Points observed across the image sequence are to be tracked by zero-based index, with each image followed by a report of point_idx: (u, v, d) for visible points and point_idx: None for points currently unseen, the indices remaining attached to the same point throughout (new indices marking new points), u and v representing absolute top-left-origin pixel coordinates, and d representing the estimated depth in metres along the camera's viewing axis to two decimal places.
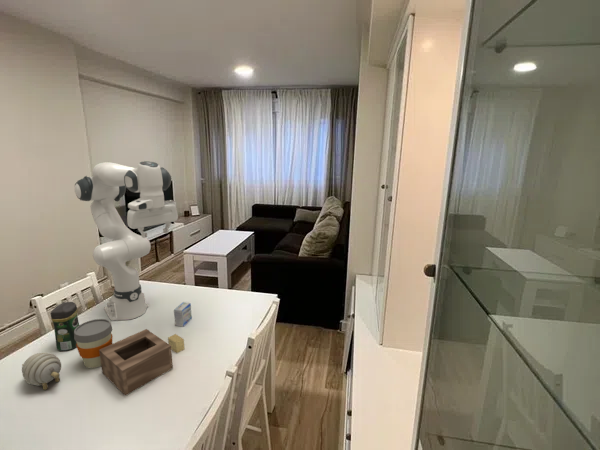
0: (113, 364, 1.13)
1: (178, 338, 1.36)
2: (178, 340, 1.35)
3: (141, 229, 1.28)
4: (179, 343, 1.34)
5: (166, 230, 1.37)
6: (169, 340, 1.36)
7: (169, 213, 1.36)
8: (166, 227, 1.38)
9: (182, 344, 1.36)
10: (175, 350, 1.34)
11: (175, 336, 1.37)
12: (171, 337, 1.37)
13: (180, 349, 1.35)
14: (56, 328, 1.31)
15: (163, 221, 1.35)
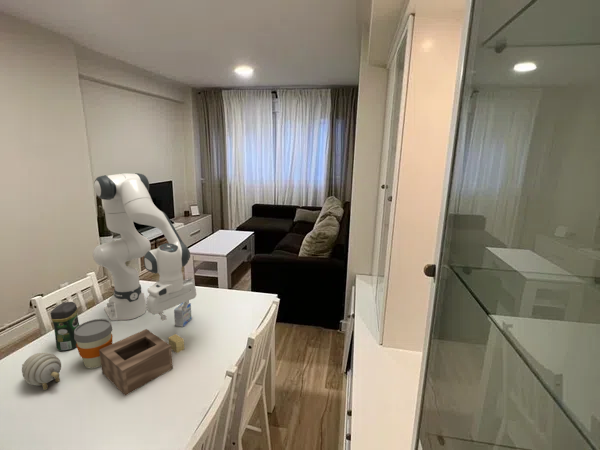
0: (113, 364, 1.13)
1: (178, 338, 1.36)
2: (178, 340, 1.35)
3: (161, 313, 1.27)
4: (179, 343, 1.34)
5: (185, 308, 1.36)
6: (169, 340, 1.36)
7: (188, 292, 1.35)
8: (185, 305, 1.37)
9: (182, 344, 1.36)
10: (175, 350, 1.34)
11: (175, 336, 1.37)
12: (171, 337, 1.37)
13: (180, 349, 1.35)
14: (56, 328, 1.31)
15: (182, 301, 1.33)
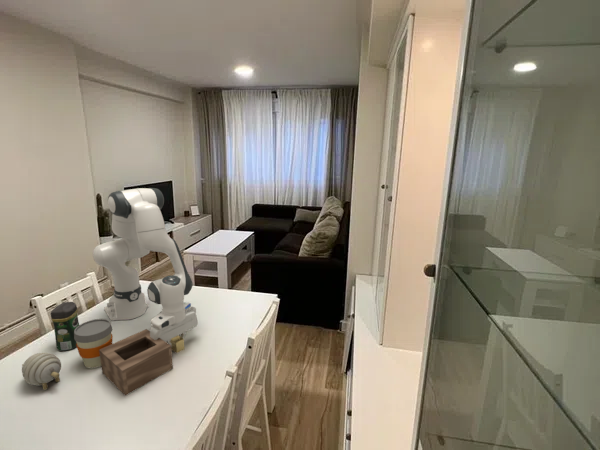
0: (113, 364, 1.13)
1: (178, 337, 1.36)
2: (178, 340, 1.35)
3: (168, 341, 1.32)
4: (179, 343, 1.34)
5: None
6: None
7: (189, 321, 1.38)
8: (182, 336, 1.38)
9: (182, 344, 1.36)
10: (175, 350, 1.34)
11: None
12: None
13: (180, 349, 1.35)
14: (56, 328, 1.31)
15: (184, 330, 1.37)
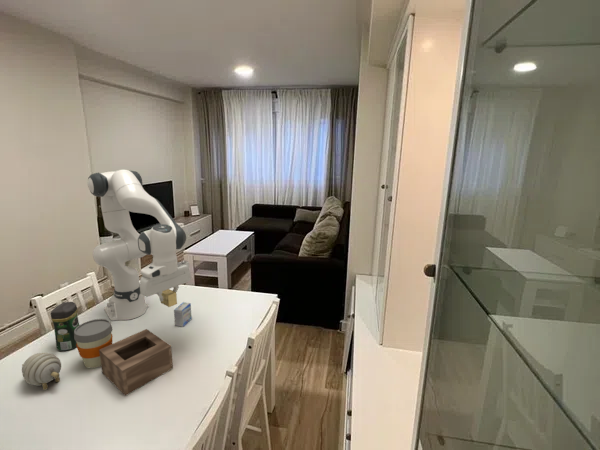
0: (113, 364, 1.13)
1: (170, 291, 1.29)
2: (170, 293, 1.28)
3: (159, 293, 1.25)
4: (171, 296, 1.27)
5: None
6: (161, 294, 1.29)
7: (182, 275, 1.31)
8: (174, 290, 1.31)
9: (174, 298, 1.29)
10: (167, 304, 1.27)
11: (167, 290, 1.30)
12: (163, 291, 1.29)
13: (172, 303, 1.28)
14: (56, 328, 1.31)
15: (176, 284, 1.30)
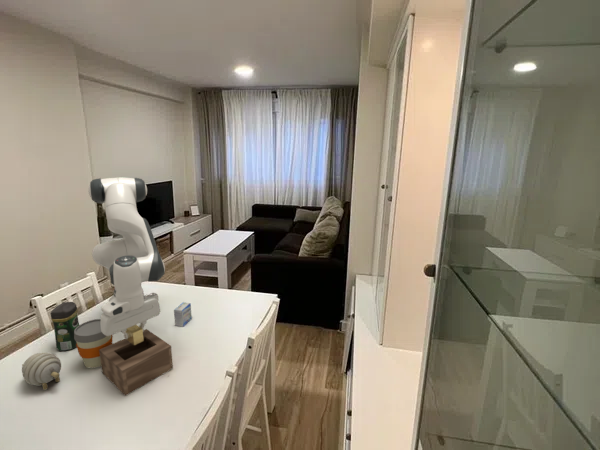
0: (113, 364, 1.13)
1: (136, 327, 1.19)
2: (136, 330, 1.18)
3: (123, 331, 1.15)
4: (137, 333, 1.17)
5: None
6: None
7: (150, 309, 1.21)
8: (141, 326, 1.21)
9: (141, 335, 1.19)
10: (132, 341, 1.17)
11: (133, 326, 1.20)
12: None
13: (138, 340, 1.18)
14: (56, 328, 1.31)
15: (143, 319, 1.20)
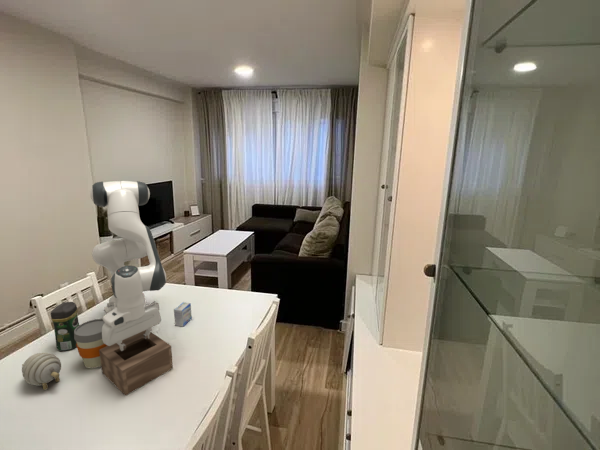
0: (113, 364, 1.13)
1: None
2: None
3: (119, 343, 1.15)
4: None
5: (146, 336, 1.23)
6: None
7: (151, 318, 1.22)
8: (147, 333, 1.24)
9: None
10: None
11: None
12: None
13: None
14: (56, 328, 1.31)
15: (144, 328, 1.21)
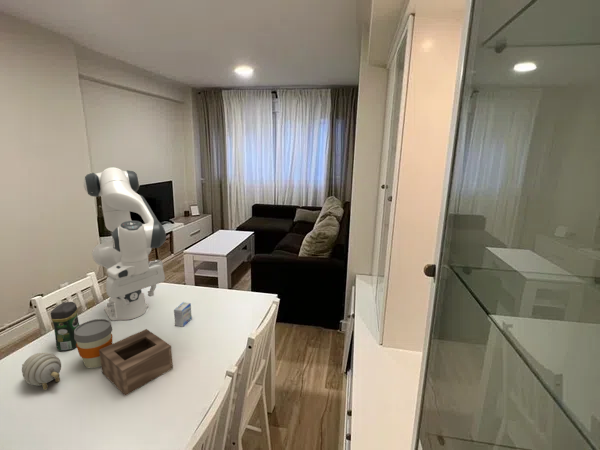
0: (113, 364, 1.13)
1: None
2: None
3: (122, 297, 1.15)
4: None
5: (151, 293, 1.24)
6: None
7: (154, 275, 1.23)
8: (151, 289, 1.25)
9: None
10: None
11: None
12: None
13: None
14: (56, 328, 1.31)
15: (147, 285, 1.21)
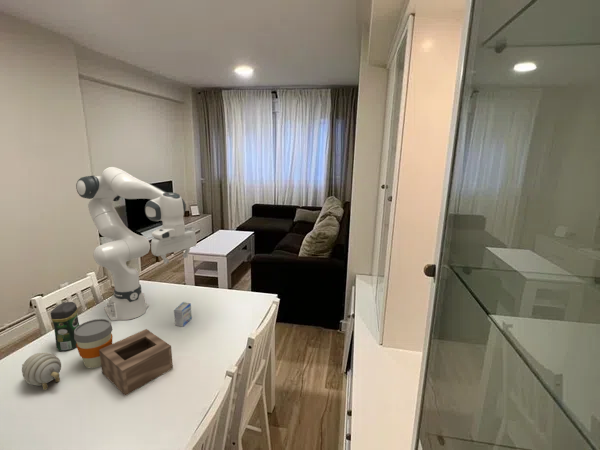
0: (113, 364, 1.13)
1: None
2: None
3: (164, 256, 1.37)
4: None
5: (186, 255, 1.46)
6: None
7: (189, 239, 1.45)
8: (186, 252, 1.47)
9: None
10: None
11: None
12: None
13: None
14: (56, 328, 1.31)
15: (183, 247, 1.44)
